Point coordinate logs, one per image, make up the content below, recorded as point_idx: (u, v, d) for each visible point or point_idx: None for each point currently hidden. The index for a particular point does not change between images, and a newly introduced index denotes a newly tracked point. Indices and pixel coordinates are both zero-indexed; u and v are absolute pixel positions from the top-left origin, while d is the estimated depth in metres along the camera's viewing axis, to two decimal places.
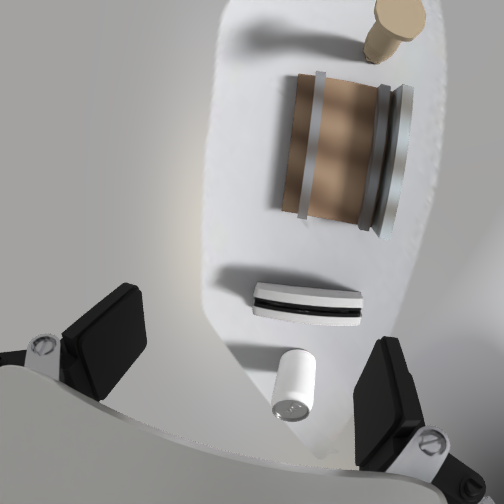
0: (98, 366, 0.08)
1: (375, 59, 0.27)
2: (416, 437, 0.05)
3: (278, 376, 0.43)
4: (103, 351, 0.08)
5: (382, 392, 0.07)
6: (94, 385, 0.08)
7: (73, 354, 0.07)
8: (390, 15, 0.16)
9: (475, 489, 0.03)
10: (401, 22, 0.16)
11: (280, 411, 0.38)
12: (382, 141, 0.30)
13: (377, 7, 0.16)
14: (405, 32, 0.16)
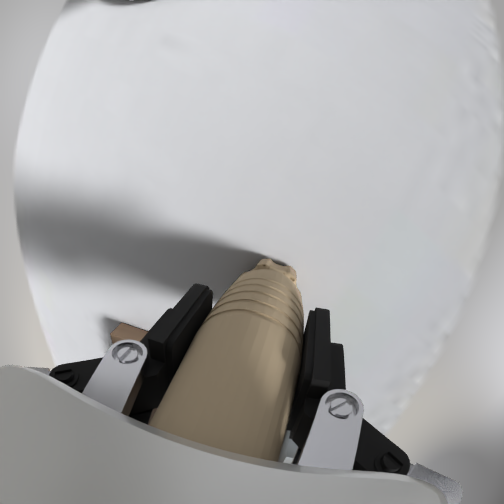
0: None
1: None
2: (324, 397, 0.07)
3: None
4: (184, 353, 0.09)
5: (304, 356, 0.09)
6: None
7: (159, 359, 0.08)
8: None
9: (395, 465, 0.05)
10: None
11: None
12: None
13: None
14: None
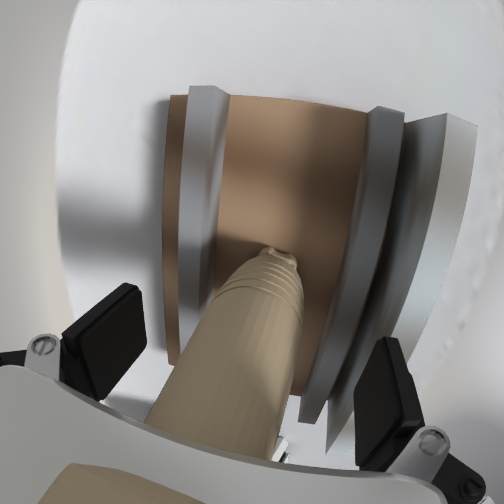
0: (98, 366, 0.08)
1: None
2: (416, 437, 0.05)
3: None
4: (103, 351, 0.08)
5: (382, 392, 0.07)
6: (94, 385, 0.08)
7: (73, 354, 0.07)
8: None
9: (475, 489, 0.03)
10: None
11: None
12: (366, 275, 0.12)
13: None
14: None
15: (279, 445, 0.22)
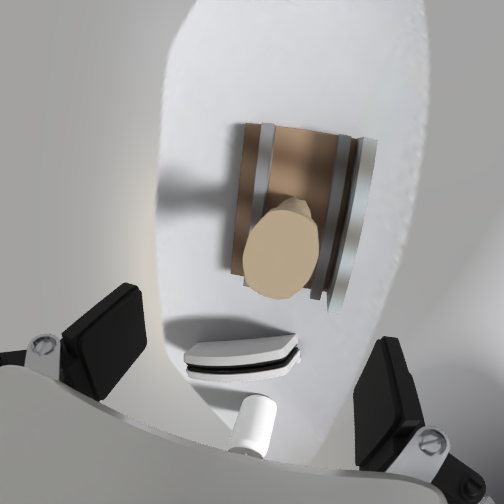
0: (98, 366, 0.08)
1: None
2: (416, 437, 0.05)
3: (236, 421, 0.42)
4: (103, 351, 0.08)
5: (382, 392, 0.07)
6: (94, 385, 0.08)
7: (73, 354, 0.07)
8: (261, 268, 0.20)
9: (475, 489, 0.03)
10: (275, 278, 0.20)
11: None
12: (337, 204, 0.29)
13: (244, 257, 0.20)
14: (278, 291, 0.20)
15: (293, 337, 0.39)
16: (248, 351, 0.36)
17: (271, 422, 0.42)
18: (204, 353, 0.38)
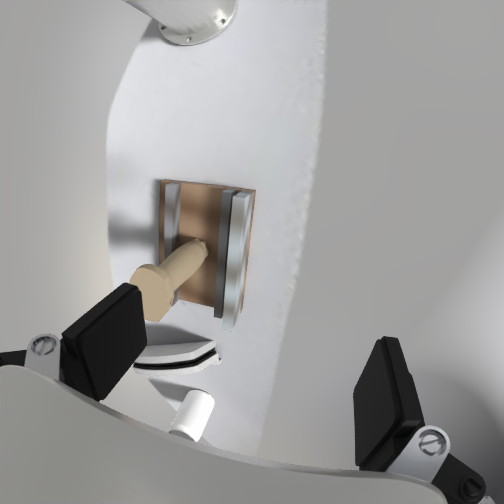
0: (98, 366, 0.08)
1: None
2: (416, 437, 0.05)
3: (178, 410, 0.51)
4: (103, 351, 0.08)
5: (382, 392, 0.07)
6: (94, 385, 0.08)
7: (73, 354, 0.07)
8: None
9: (475, 489, 0.03)
10: (148, 308, 0.29)
11: None
12: (224, 247, 0.38)
13: None
14: (151, 317, 0.29)
15: (209, 343, 0.48)
16: (170, 353, 0.45)
17: (205, 413, 0.51)
18: (143, 354, 0.47)
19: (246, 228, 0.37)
